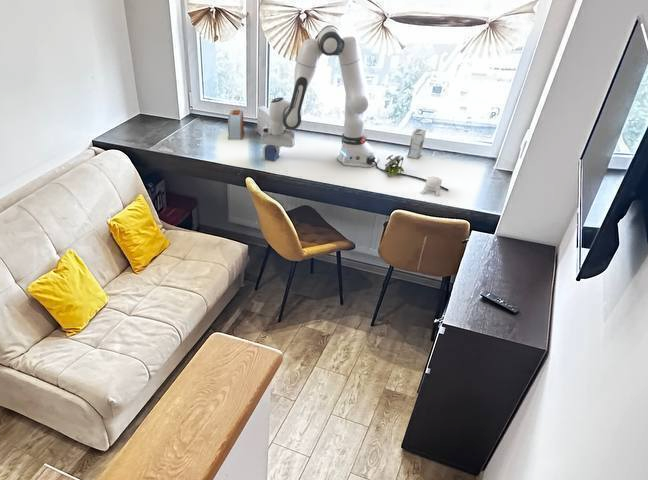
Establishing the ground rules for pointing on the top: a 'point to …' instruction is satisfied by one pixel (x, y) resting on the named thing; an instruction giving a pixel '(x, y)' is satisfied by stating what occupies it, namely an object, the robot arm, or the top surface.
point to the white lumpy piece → (433, 184)
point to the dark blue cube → (270, 153)
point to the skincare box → (262, 118)
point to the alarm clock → (235, 124)
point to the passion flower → (394, 168)
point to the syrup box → (416, 143)
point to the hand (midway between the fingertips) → (277, 152)
